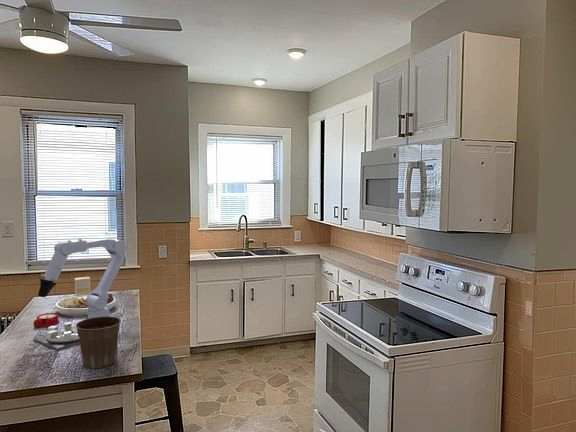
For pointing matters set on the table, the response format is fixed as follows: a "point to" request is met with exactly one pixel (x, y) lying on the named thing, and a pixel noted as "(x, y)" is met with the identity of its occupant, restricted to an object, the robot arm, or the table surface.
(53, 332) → the metal disc with lugs
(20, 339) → the table surface
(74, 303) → the bowl
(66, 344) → the mount plate
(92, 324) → the plant pot
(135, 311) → the table surface
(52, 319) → the alarm clock
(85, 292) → the supplement box
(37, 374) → the table surface
